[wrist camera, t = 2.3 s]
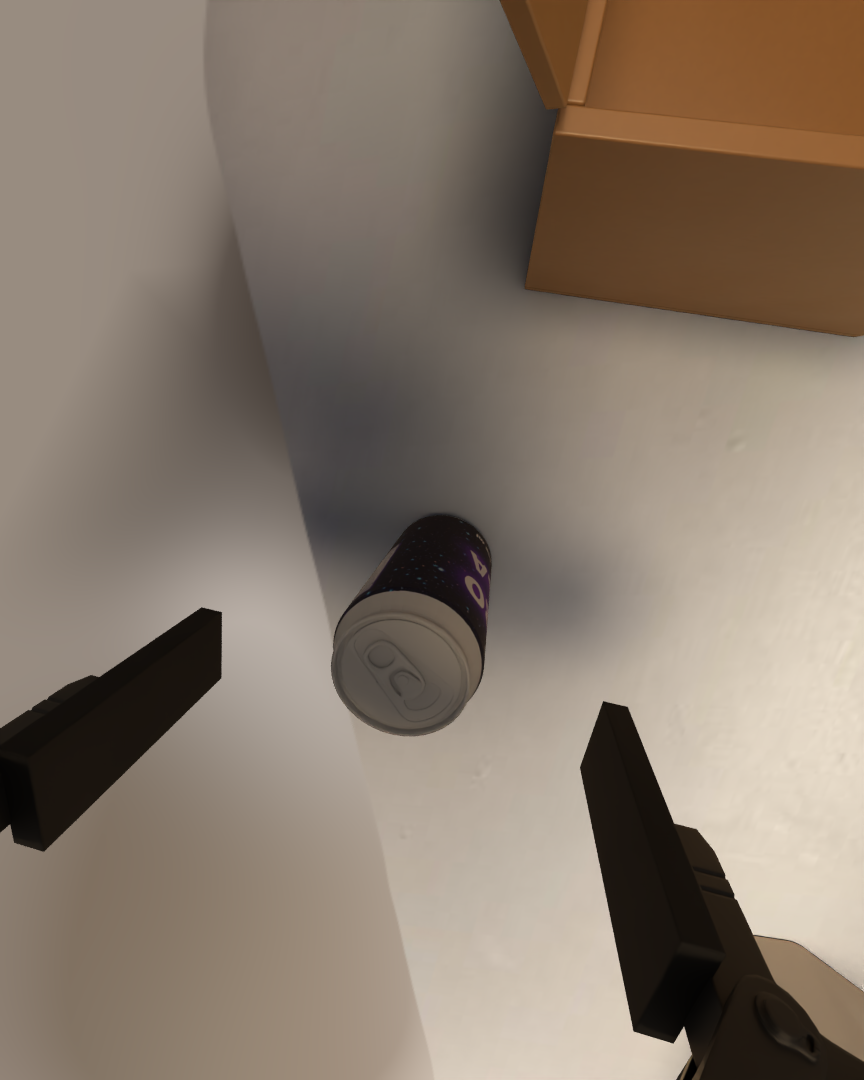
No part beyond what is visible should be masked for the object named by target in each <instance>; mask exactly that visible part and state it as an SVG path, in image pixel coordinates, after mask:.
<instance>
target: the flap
mask: <svg viewBox="0 0 864 1080" xmlns="http://www.w3.org/2000/svg"><path fill="white" fill-rule="evenodd" d="M500 2H501V5H502V7H503V9H504V12H505V14H506V16H507V19H508V21H509V24H510V26H511V28H512V31H513V33H514V35H515V38H516V40H517V42H518V45H519V47H520V49H521V52H522V54H523V56H524V59H525V61H526V63H527V66H528V68H529V71H530V73H531V75H532V78H533V80H534V82H535V85H536V87H537V89H538V92H539V94H540V96H541V99H542V101H543V103H544V106H545V108H546V109H557V108H565V107H566V105H567V101H568V96H569V92H570V87H571V82H572V77H573V72H574V67H575V63H576V58H577V53H578V48H579V43H580V38H581V33H582V29H583V24H584V19H585V14H586V9H587V4H588V0H500Z"/></svg>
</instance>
